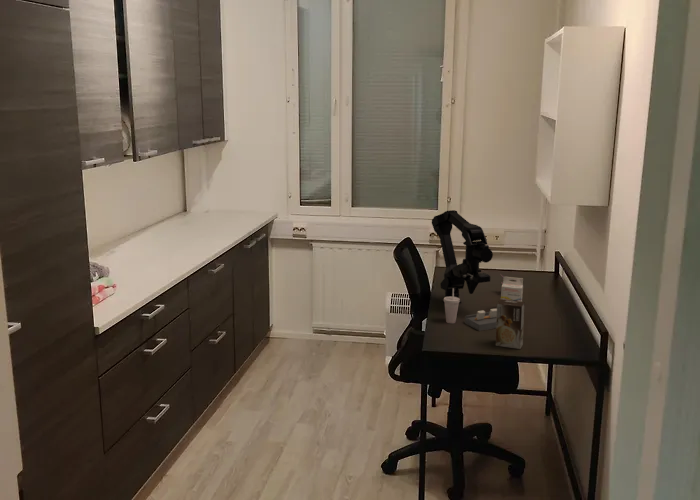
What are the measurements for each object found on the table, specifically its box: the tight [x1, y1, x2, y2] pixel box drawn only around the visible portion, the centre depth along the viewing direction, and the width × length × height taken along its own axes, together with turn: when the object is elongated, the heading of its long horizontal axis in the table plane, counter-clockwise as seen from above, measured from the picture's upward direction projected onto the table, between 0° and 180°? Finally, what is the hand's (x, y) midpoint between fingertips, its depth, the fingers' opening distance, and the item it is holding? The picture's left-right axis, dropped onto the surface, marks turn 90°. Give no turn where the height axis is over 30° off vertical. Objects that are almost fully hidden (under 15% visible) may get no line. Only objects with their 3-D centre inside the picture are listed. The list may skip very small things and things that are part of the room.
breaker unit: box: [464, 311, 497, 332], centre depth 268 cm, size 10×19×3 cm, turn 114°
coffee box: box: [495, 298, 526, 350], centre depth 244 cm, size 9×6×16 cm
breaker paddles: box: [475, 308, 497, 320], centre depth 267 cm, size 1×16×4 cm, turn 114°
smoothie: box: [443, 288, 461, 324], centre depth 269 cm, size 6×6×14 cm
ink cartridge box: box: [500, 276, 524, 302], centre depth 280 cm, size 9×5×15 cm, turn 71°
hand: (471, 293), depth 280 cm, fingers closed
